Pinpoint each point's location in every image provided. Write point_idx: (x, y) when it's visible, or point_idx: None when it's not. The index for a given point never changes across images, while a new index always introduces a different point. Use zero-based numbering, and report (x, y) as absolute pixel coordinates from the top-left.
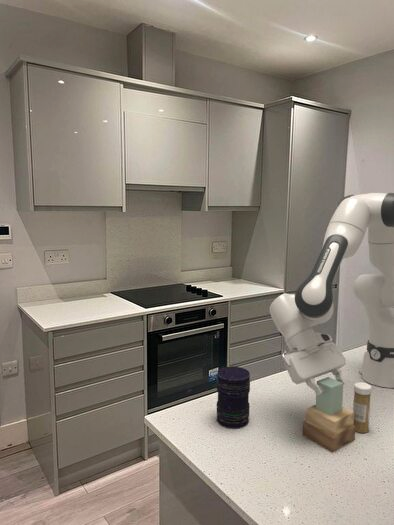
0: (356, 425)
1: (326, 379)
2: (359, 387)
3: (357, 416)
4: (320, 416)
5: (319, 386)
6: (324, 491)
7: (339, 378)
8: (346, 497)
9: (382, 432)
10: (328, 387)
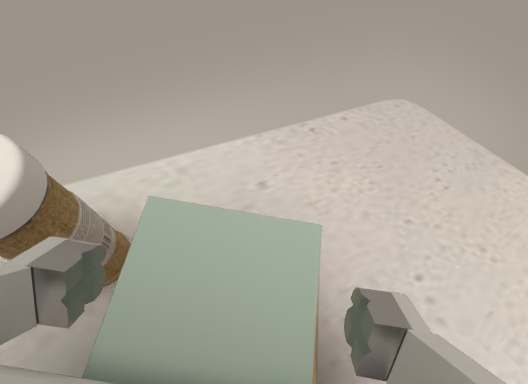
0: (120, 256)
1: (168, 377)
2: (8, 178)
3: (106, 243)
4: (316, 316)
5: (402, 326)
6: (453, 201)
7: (30, 283)
8: (424, 162)
9: (82, 198)
10: (317, 263)
